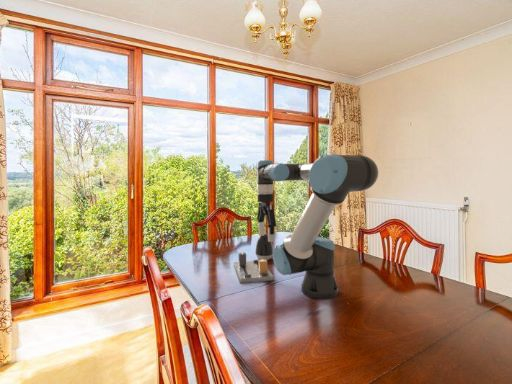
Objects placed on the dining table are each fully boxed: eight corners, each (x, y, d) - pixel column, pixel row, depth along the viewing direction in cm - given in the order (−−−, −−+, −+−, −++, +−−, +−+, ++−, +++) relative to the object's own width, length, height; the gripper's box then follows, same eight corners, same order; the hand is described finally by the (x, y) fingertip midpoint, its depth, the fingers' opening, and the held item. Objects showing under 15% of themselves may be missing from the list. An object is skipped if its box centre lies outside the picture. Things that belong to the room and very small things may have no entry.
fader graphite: (246, 265, 148) (246, 253, 147) (239, 265, 147) (239, 253, 147) (245, 263, 151) (245, 251, 150) (238, 263, 150) (238, 252, 150)
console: (274, 280, 133) (273, 274, 133) (239, 283, 130) (239, 276, 130) (262, 263, 156) (262, 258, 156) (233, 266, 153) (233, 260, 153)
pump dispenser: (273, 262, 159) (273, 235, 158) (255, 262, 160) (255, 235, 158) (273, 256, 169) (272, 231, 168) (255, 256, 170) (255, 231, 169)
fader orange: (267, 273, 136) (267, 260, 135) (259, 274, 135) (259, 261, 135) (265, 271, 139) (265, 258, 138) (258, 272, 138) (258, 259, 138)
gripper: (283, 194, 122) (284, 243, 123) (264, 191, 145) (264, 232, 147) (266, 195, 119) (267, 244, 121) (250, 192, 143) (250, 233, 144)
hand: (266, 238), depth 134 cm, fingers open, 13 cm apart
